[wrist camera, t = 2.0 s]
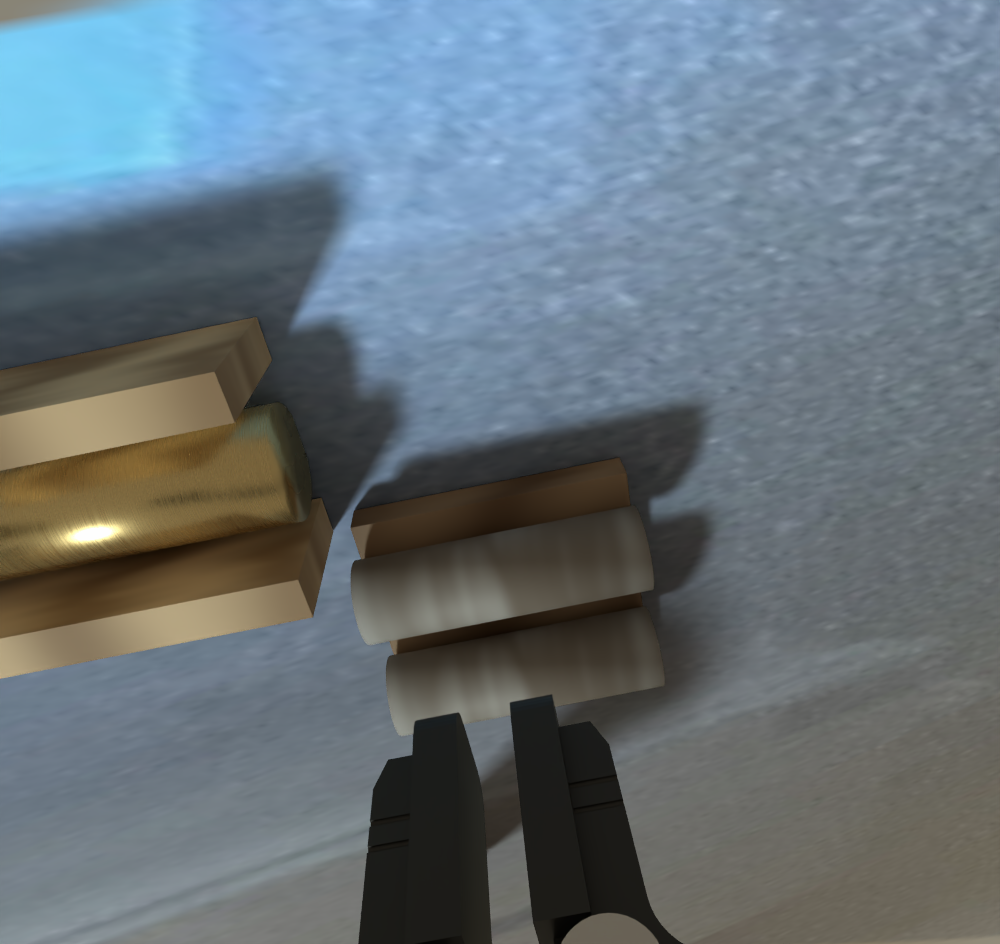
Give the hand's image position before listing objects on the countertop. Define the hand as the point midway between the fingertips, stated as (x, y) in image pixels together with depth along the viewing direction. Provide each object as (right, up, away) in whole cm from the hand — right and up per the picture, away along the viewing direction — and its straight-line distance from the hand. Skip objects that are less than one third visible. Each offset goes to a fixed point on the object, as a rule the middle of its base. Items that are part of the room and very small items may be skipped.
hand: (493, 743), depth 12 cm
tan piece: (-14, +5, +14) cm, 20 cm away
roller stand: (0, 0, +17) cm, 17 cm away
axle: (-13, +4, +12) cm, 18 cm away
